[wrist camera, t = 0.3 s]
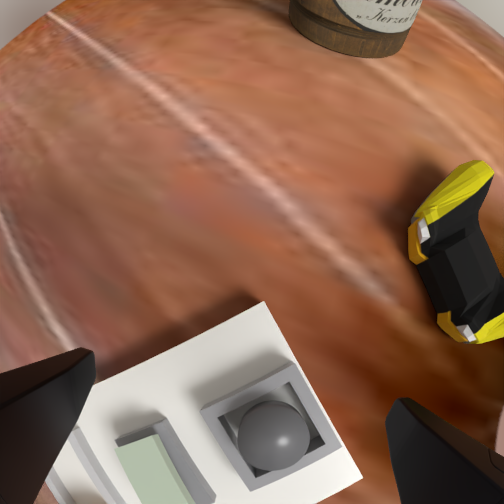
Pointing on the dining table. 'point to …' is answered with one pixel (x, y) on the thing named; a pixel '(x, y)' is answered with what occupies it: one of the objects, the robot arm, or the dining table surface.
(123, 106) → the dining table surface
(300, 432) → the push button
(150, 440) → the rocker
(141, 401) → the panel
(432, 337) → the dining table surface
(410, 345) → the dining table surface
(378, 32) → the wooden container
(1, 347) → the dining table surface
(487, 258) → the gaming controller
